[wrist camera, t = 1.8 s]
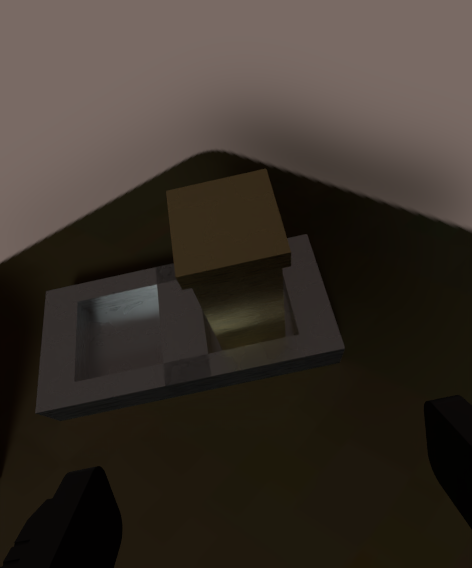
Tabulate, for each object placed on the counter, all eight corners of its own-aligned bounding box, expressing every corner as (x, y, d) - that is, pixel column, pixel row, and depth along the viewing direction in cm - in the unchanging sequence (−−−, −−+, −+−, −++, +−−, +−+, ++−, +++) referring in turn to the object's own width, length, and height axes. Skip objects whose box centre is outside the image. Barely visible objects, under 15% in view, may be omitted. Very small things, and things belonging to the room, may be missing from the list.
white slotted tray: (60, 420, 27) (35, 413, 24) (66, 308, 31) (46, 291, 29) (339, 362, 26) (344, 348, 24) (305, 255, 31) (307, 233, 28)
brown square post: (218, 356, 26) (175, 277, 17) (208, 291, 29) (166, 190, 19) (291, 340, 26) (291, 252, 17) (275, 277, 29) (266, 168, 19)
